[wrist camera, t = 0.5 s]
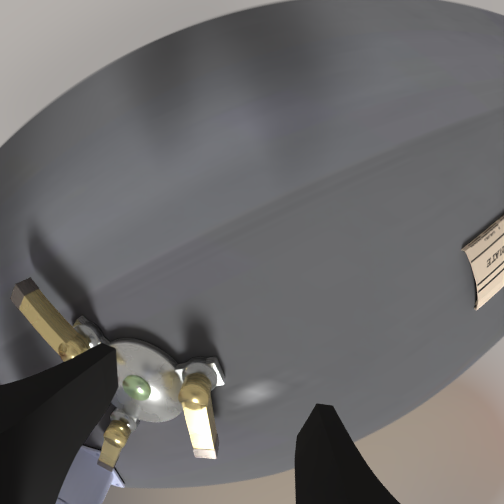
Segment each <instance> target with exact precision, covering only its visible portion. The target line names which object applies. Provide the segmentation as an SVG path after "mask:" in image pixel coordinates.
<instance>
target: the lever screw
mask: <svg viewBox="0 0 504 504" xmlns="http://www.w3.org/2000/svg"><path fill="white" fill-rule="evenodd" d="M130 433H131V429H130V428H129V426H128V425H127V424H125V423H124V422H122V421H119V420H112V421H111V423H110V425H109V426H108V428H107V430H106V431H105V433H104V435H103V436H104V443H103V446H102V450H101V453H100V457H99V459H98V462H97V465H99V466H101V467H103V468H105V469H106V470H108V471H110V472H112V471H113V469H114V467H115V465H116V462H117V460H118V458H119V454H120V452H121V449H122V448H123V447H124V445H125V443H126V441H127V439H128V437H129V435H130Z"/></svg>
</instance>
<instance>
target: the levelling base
mask: <svg viewBox="0 0 504 504" xmlns="http://www.w3.org/2000/svg"><path fill="white" fill-rule="evenodd" d="M73 328H74V329H75V330H76V331H77V332H78V333H79V334H81V335H83V336H84V337H85V338H86V339H87V340H88V342H89V344H90V347H91V348H92V347H94V346H96V345H98V344H100V343H104V344H106V345H109V346H111V347H114V348H116V356H117V373H118V386H119V387H118V389H117V391H116V393H115V395H114V397H113V399H112V401H111V403H112V404H113V405H114V406H116V408H115V409H114V411H113V413H112V414H111V416H110V419H111V421H112V420H119V421H122V422H124V423H125V424H127V425H128V426H129V428H130V429H131V433H132V432H134V431H135V430H136V428H137V426H138V424H139V422H140V420H143V421H148V422H164V421H168V420H171V419H173V418H175V417H176V416H178V415H179V414H180V413H181V411H182V410H183V405H182V404H181V403H180V402H179V400H178V394H179V392H180V389H181V387H182V384H183V381H184V379H185V377H186V376H187V375H189V374H191V373H199V374H202V375H205V376H206V377H207V378H208V379H209V380H210V381H211V383H212V389H211V391H212V390H213V389H214V388H215V387H216V386H218V385H223V384H224V382H225V376H224V373H223V371H222V369H221V367H220V364H219V362H218V360H217V357H216V356H215V357H210V358H205V357H194V358H192V359H190V360H189V361H188V362H185V363H179V364H177V363H176V361H175V360H174V359H173V358H172V357H171V356H169V355H168V354H167V353H166V352H164V351H163V350H162V349H160V348H158V347H157V346H155V345H153V344H151V343H149V342H146V341H143V340H139V339H134V338H121V339H117V340H114V341H112V342H110V341H109V340H107V339H106V338H105V337H104V336H103V334H102V332H101V330H100V329H99V327H98V326H97V325H96V324H94V323H93V322H91V321H88V320H87V319H86V318H85V317H84V316H83V315H82V316H81V317H79V318H78V319H77V320H76V322H75V323H74V325H73ZM131 433H130V434H131Z"/></svg>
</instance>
